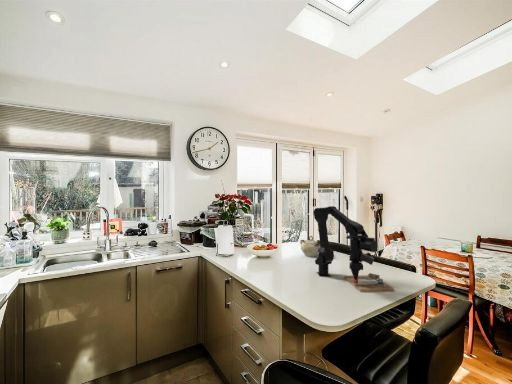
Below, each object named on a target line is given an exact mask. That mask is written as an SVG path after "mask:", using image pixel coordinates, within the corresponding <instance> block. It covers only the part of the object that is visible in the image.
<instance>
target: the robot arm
mask: <svg viewBox="0 0 512 384" xmlns="http://www.w3.org/2000/svg"><path fill="white" fill-rule="evenodd" d="M312 213H313V217H314V220H315V222H316V223H317V227H318V237H319V243H320V250H319V252H318V257H317V258H315V260H314V262H315V265H317V266H318V271H316V274H317V275H318V276H319V277H330V276H331V274H330V273H329V265H330V264H331V265H332V263H333V261H334V258H335V254H334V253H335V252H334V249H332V248H331V247H330V244H329V235H328V227H327V221H328V219H329V215H331V217H333V218H334V219H335V220H337V222H339V223H340V224H341V225H342V226H343V227H344V229H345V231H346V232H347V233H348V235H347V236H345V238H346V239H347V240H348V239H349V270H350V271H351V273H352V274H351V275H353V276H354V279H355V280H357V278H358V275H360V274H359V273H360V271H363V270H364V264H363V262H364V263H367V264H369V265H370V266H372V265H373V263H374V261H375V258H374V257H373V256H372V254H371V253H375V252H377V250H378V245H379V244H378V242H377V241H376V240H375V239H376V237H369V236H368V234H367V232H366V231H365V229H364V226H363V225H362V224H361V223H359V222H357V221H354V220H353V219H350V218H349V217H348V216H346V214H344V213H343V212H341V211H340V210H339V209H338V207H336V206H335V205H332V206H327V207H316V208H314V209H313V212H312ZM364 251H366V252H367V253H364Z"/></svg>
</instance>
